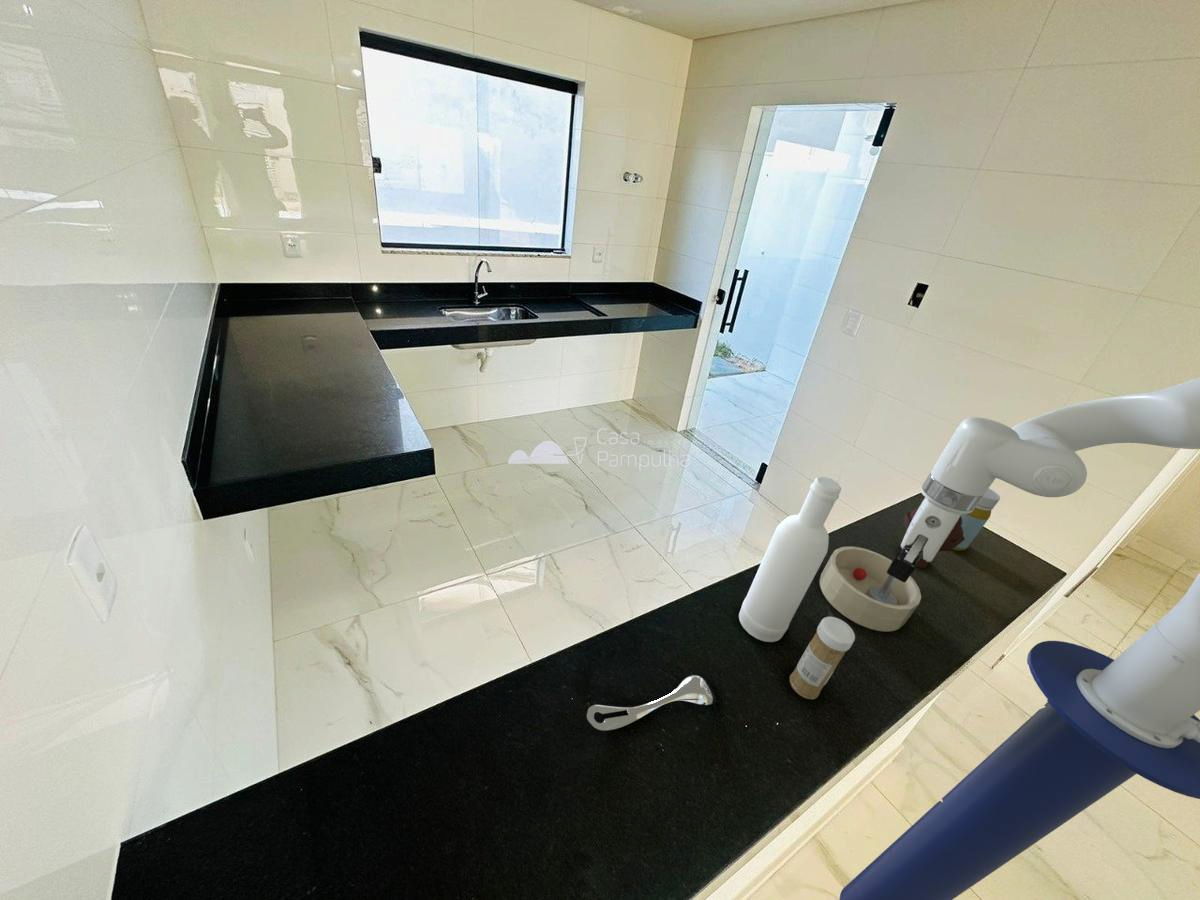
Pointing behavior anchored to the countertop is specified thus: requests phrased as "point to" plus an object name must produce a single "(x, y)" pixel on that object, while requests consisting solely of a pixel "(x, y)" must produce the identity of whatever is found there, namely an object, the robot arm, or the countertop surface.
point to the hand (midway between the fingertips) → (897, 573)
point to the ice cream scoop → (654, 703)
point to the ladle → (884, 591)
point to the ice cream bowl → (949, 543)
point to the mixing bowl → (851, 591)
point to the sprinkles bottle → (821, 657)
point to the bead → (859, 573)
